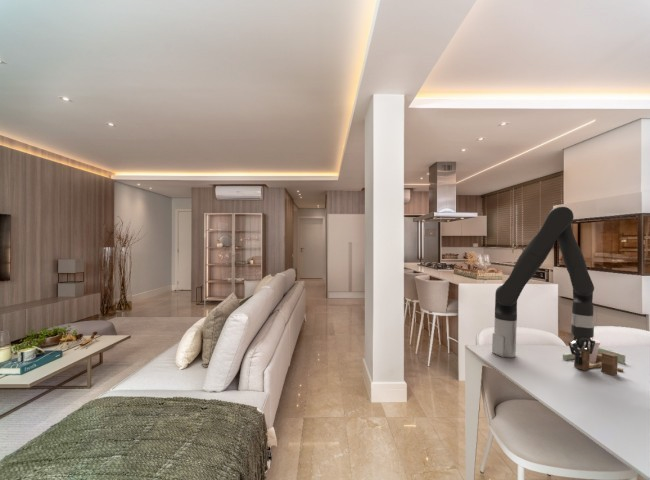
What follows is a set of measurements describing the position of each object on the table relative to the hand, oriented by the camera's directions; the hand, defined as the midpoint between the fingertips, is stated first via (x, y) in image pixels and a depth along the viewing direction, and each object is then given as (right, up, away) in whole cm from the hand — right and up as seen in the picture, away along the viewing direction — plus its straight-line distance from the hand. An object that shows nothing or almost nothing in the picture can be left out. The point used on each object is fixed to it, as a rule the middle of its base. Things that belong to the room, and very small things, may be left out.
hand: (581, 364), depth 133 cm
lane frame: (+13, -2, +9) cm, 16 cm away
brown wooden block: (+12, -3, -2) cm, 12 cm away
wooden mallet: (+7, -2, +6) cm, 9 cm away
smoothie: (+12, -3, +9) cm, 15 cm away
